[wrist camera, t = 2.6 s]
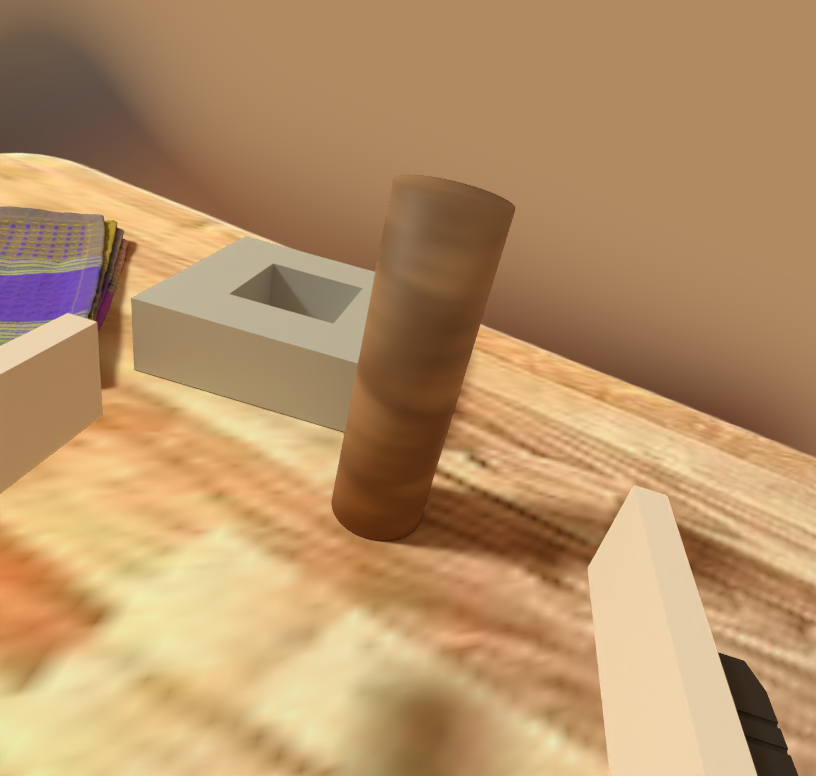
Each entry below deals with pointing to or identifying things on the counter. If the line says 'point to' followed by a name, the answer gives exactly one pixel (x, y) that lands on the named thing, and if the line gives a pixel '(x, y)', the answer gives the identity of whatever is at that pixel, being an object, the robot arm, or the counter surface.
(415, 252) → the walnut dowel
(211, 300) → the socket block
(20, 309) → the dish towel
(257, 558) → the counter surface
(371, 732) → the counter surface
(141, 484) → the counter surface
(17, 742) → the counter surface
